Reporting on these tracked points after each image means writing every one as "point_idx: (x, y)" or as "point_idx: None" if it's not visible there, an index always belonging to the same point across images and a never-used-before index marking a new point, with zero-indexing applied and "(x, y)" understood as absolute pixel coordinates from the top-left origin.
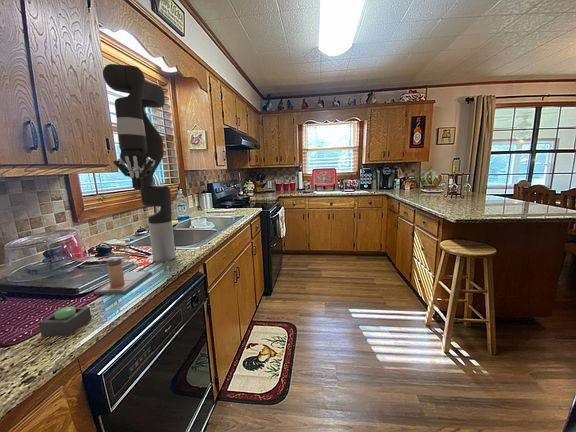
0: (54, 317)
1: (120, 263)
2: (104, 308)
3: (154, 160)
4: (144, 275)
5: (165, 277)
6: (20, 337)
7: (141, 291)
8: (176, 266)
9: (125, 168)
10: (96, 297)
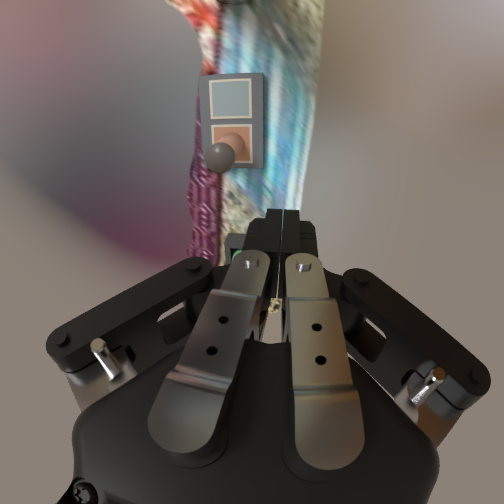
0: (231, 259)
1: (235, 156)
2: (260, 208)
3: (478, 399)
4: (259, 95)
5: (306, 92)
6: (208, 259)
7: (288, 155)
8: (301, 29)
9: (161, 336)
10: (218, 173)
